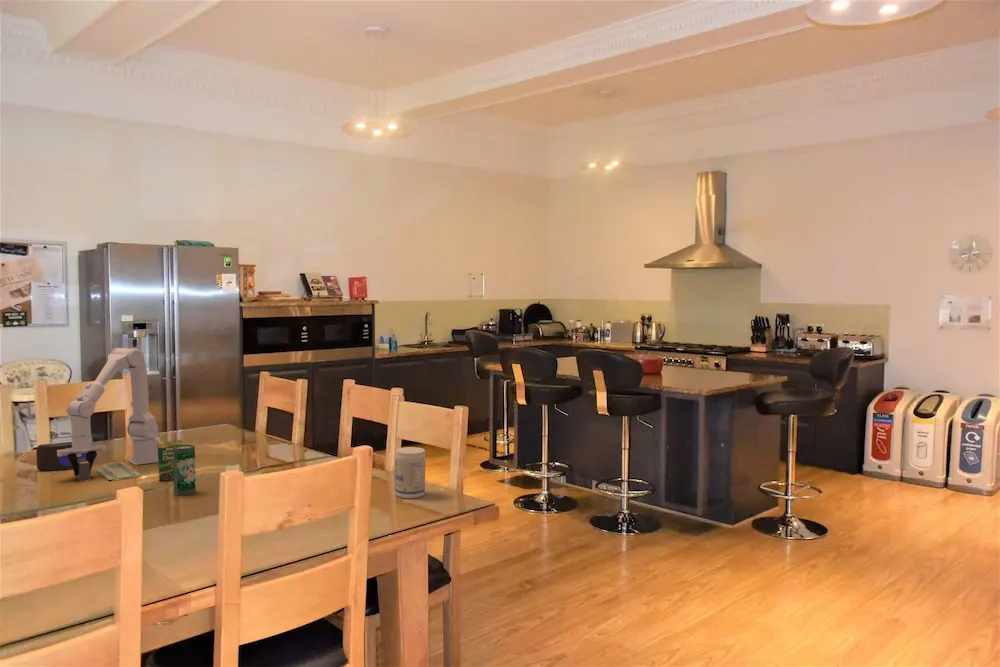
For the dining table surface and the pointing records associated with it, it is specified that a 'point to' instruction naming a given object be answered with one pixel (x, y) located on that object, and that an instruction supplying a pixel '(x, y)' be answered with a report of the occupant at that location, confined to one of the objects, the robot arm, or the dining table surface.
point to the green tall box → (184, 469)
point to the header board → (117, 471)
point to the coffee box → (166, 459)
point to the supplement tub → (410, 472)
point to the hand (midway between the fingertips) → (82, 474)
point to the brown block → (83, 470)
